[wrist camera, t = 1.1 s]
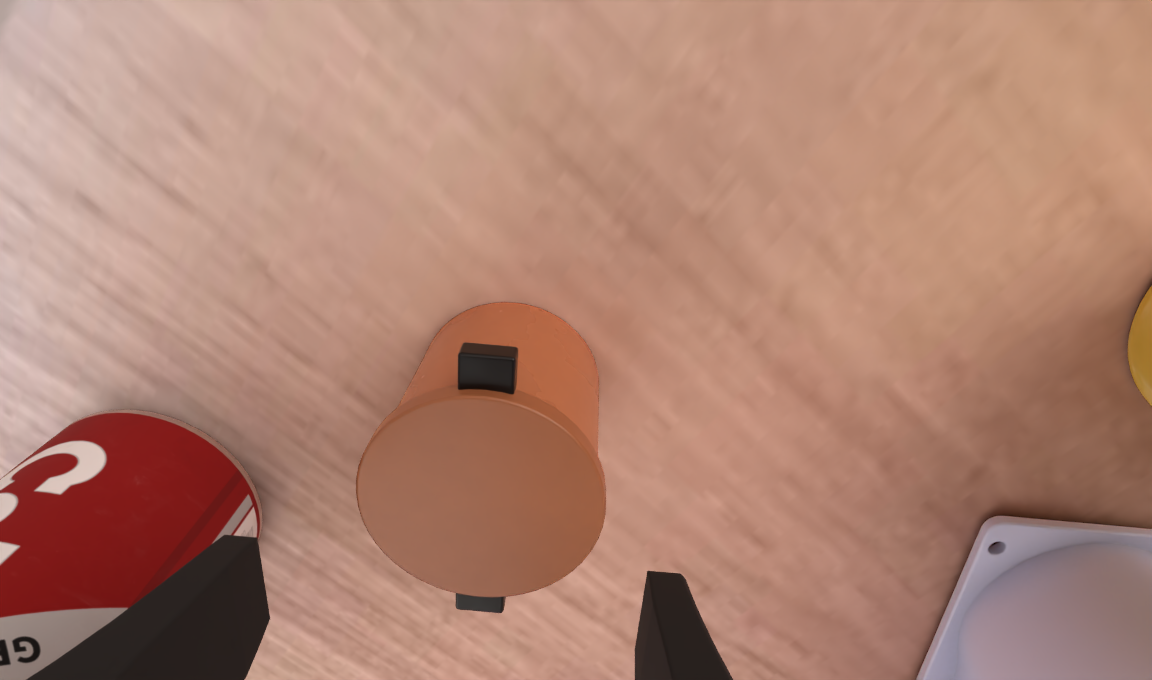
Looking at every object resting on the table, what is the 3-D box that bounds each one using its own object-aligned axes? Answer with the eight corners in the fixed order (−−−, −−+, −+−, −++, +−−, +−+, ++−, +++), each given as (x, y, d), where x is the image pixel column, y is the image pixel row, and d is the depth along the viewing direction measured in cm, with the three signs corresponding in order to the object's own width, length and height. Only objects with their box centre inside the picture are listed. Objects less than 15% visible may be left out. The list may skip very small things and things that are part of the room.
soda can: (311, 484, 22) (39, 929, 12) (209, 595, 25) (-99, 1052, 14) (120, 355, 21) (-414, 740, 10) (28, 488, 23) (-485, 918, 12)
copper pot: (594, 489, 22) (590, 631, 17) (418, 473, 22) (363, 611, 17) (618, 277, 19) (623, 375, 14) (414, 259, 19) (345, 349, 14)
